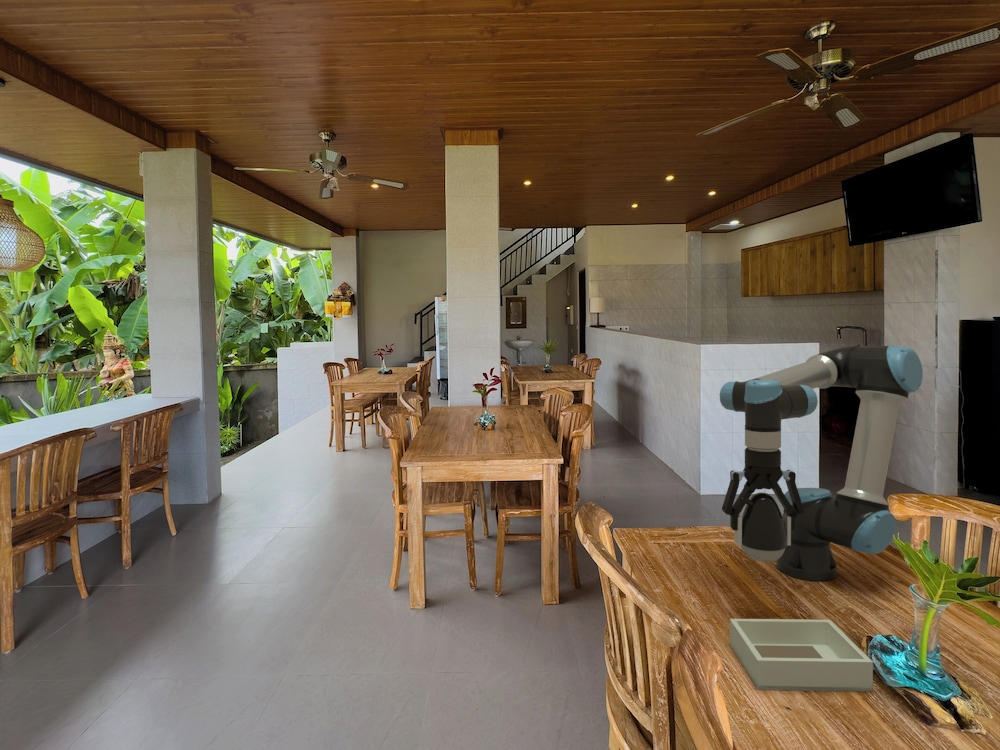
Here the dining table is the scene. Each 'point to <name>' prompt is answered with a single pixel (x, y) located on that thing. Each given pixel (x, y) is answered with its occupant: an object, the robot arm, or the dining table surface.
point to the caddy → (800, 655)
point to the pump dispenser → (763, 529)
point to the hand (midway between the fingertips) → (762, 543)
